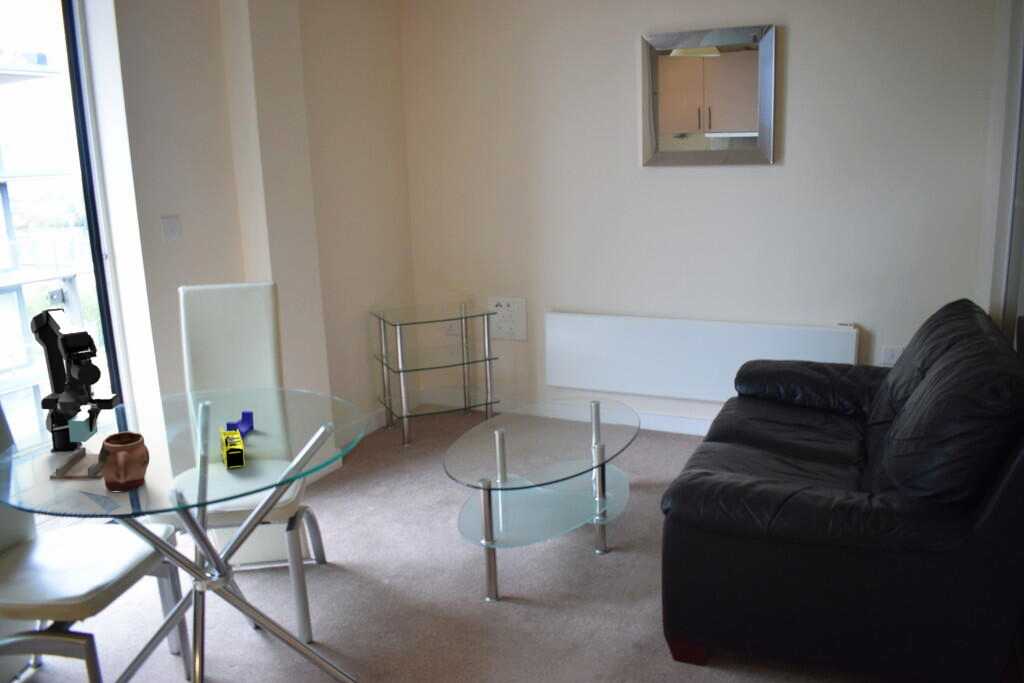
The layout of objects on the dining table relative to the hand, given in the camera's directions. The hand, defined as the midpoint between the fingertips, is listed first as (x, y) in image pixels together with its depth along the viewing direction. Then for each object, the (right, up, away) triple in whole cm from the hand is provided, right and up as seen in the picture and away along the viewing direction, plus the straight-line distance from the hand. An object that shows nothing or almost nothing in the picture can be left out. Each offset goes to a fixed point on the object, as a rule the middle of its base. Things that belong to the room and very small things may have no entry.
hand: (83, 431), depth 238 cm
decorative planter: (+16, -14, -10) cm, 24 cm away
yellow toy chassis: (+37, -10, +11) cm, 40 cm away
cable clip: (+33, -5, +31) cm, 45 cm away
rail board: (0, -10, +3) cm, 11 cm away
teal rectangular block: (0, -1, 0) cm, 2 cm away
